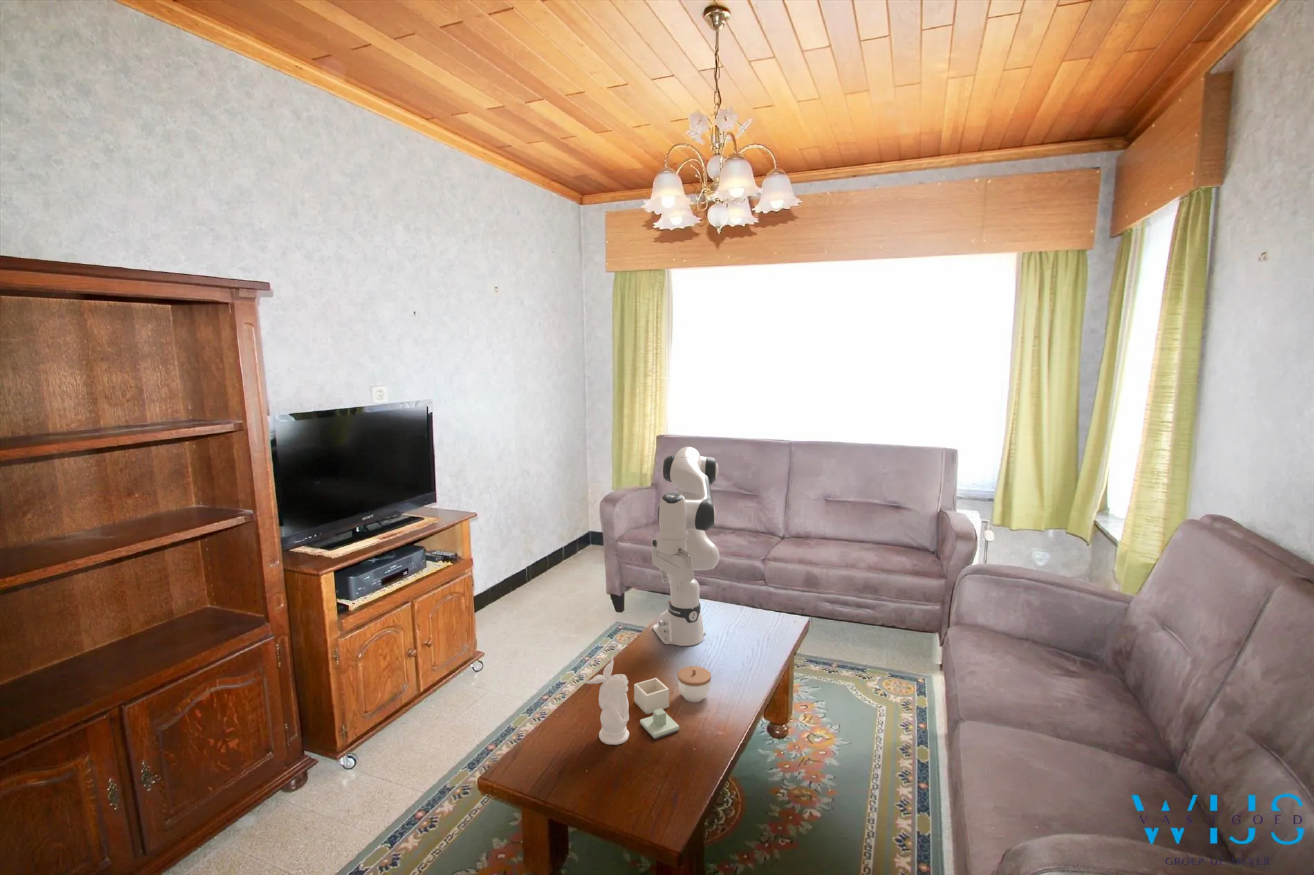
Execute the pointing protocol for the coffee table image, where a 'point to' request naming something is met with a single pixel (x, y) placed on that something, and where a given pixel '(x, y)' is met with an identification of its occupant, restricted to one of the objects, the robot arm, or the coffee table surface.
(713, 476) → the robot arm
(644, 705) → the cream box
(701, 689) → the lidded jar
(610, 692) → the white tall figurine
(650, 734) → the mat
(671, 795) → the coffee table surface
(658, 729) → the lid
